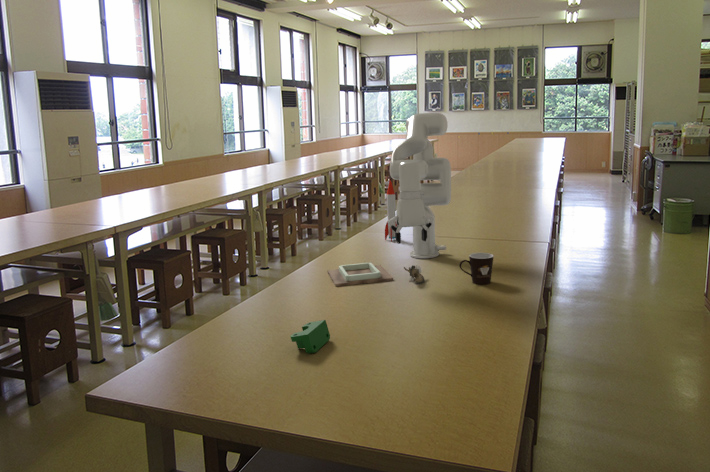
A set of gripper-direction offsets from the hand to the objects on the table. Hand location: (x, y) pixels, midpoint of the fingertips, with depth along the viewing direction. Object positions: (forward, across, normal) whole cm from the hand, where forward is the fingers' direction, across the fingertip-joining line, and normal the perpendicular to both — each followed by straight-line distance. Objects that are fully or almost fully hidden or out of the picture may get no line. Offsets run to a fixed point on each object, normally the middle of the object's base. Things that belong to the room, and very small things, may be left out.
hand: (411, 241), depth 207 cm
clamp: (+16, +44, +49) cm, 69 cm away
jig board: (+15, +18, -13) cm, 26 cm away
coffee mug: (+15, -21, +10) cm, 28 cm away
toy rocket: (+14, -11, -70) cm, 72 cm away
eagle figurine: (+15, -1, +1) cm, 15 cm away
